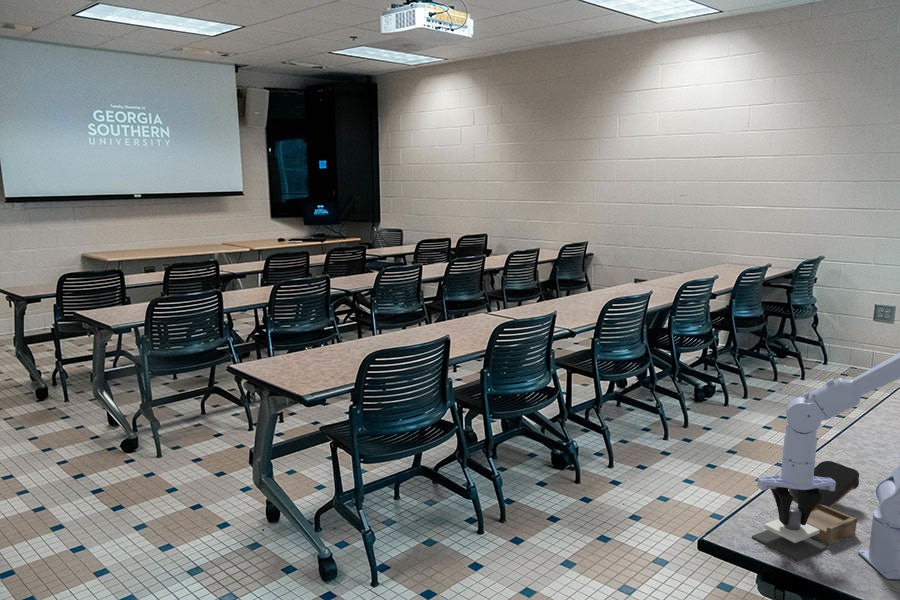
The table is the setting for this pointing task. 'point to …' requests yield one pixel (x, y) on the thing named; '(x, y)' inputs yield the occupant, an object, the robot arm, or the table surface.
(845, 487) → the black sponge
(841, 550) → the table surface
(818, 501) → the robot arm
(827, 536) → the walnut case
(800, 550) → the rubber mat
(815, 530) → the cover plate
